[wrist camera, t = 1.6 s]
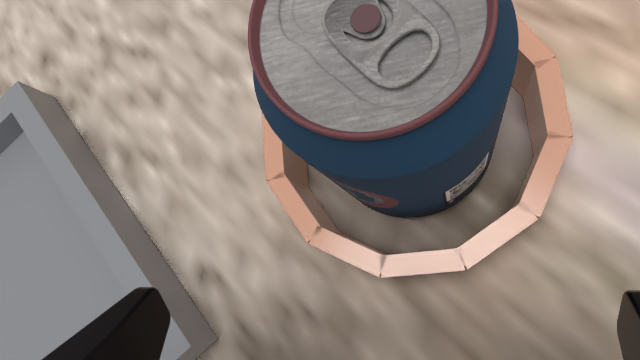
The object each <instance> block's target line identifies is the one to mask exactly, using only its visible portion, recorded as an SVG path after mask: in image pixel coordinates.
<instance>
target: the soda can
mask: <svg viewBox="0 0 640 360" xmlns="http://www.w3.org/2000/svg"><path fill="white" fill-rule="evenodd" d="M248 46H249V54H250V59H251V63H252V67H253V79H254V86H255V92H256V96H257V99H258V102H259V105H260V108H261V110H262V112H263V114H264V117H265V118H266V120H267V122H268V124H269V125H270V127H271V128H272V130H273V131H274V132H275V134H276V135H277V136H278V137H279V139H280V140H281V141H282V142H283V143H284V144H285V145H286V146H287V147H288V148H289V149H290V150H292V151H293V152H294V153H295V154H296V155H298V156H299V157H301V158H302V159H303V160H305V161H306V162H307V163H309V164H310V165H311V166H313V167H314V168H315V169H317V170H318V171H320V172H321V173H322V174H324V175H325V176H326V177H328V178H329V179H330V180H332V181H333V182H334V183H336V184H337V185H339V186H340V187H341V188H343V189H344V190H345V191H347V192H348V193H349V194H351V195H352V196H353V197H355V198H356V199H357V200H359V201H360V202H362V203H363V204H364V205H366V206H368V207H370V208H371V209H373V210H376V211H378V212H381V213H384V214H387V215H391V216H397V217H421V216H427V215H431V214H435V213H438V212H440V211H443V210H445V209H447V208H449V207H451V206H453V205H454V204H456V203H458V202H459V201H460V200H462V199H463V198H464V197H465V196H467V195H468V194H469V193H470V192H471V191H472V190H473V189H474V187H475V186H476V185H477V184H478V182H479V181H480V180H481V178H482V177H483V175H484V173H485V171H486V169H487V167H488V165H489V162H490V159H491V156H492V152H493V149H494V145H495V141H496V138H497V134H498V131H499V127H500V123H501V120H502V116H503V113H504V109H505V105H506V102H507V98H508V95H509V91H510V87H511V84H512V80H513V76H514V73H515V68H516V64H517V57H518V47H519V36H518V25H517V19H516V14H515V10H514V7H513V4H512V1H511V0H253V3H252V7H251V12H250V17H249V25H248Z"/></svg>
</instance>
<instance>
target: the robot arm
mask: <svg viewBox="0 0 640 360" xmlns="http://www.w3.org/2000/svg"><path fill="white" fill-rule="evenodd" d="M170 320H171V316H170V311H169V309H168V307H167V305H166V303H165V301H164V300H163V298H162V296H161V294H160V292H159V290H158V289H157V288H155V287H138V288H135V289H134V290H133V291H131V292H130V293H129V294H127V295H126V296H125V297H123V298H122V299H121V300H119V301H118V302H117V303H115V304H114V305H113V306H111V307H110V308H109V309H107V310H106V311H105V312H103V313H102V314H101V315H100V316H98V317H97V318H96V319H94V320H93V321H92V322H90V323H89V324H88V325H86V326H85V327H84V328H82V329H81V330H80V331H78V332H77V333H76V334H74V335H73V336H72V337H71V338H69V339H68V340H67V341H65V342H64V343H63V344H61V345H60V346H59V347H57V348H56V349H55V350H53V351H52V352H51V353H49V354H48V355H47V356H45V357H44V358H43V359H41V360H160V357H161V353H162V350H163V346H164V343H165V339H166V336H167V332H168V329H169V325H170ZM617 333H618V338H619V342H620V347H621V351H622V355H623V360H640V290H629V291H626V292H625V293H624V294H623V297H622V301H621V306H620V311H619V316H618V320H617Z"/></svg>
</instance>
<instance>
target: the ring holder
mask: <svg viewBox="0 0 640 360" xmlns="http://www.w3.org/2000/svg"><path fill="white" fill-rule="evenodd" d="M516 19H517V25H518V36H519V47H518V57H517V64H516V68H515V73H514V76H513V80H512V84H511V85H512V86H513V87H514V88H515V89H516V90H517V92H518V93H519V94H520V95H521V96H522V97H523V100H524V105H525V111H526V117H527V122H528V128H529V133H530V139H531V144H532V150H533V155H534V158H533V160H532V162H531V165H530V167H529V169H528V172H527V174H526V177H525V179H524V181H523V184H522V186H521V188H520V191H519V193H518V196H517V198H516V200H515V203H514V205H513V207H512V209H511V210H510V211H508V212H507V213H506V214H504V215H503V216H501V217H500V218H499V219H497V220H496V221H494V222H493V223H492V224H490V225H489V226H488V227H486V228H485V229H483V230H482V231H481V232H479V233H478V234H476V235H475V236H474V237H472V238H471V239H469V240H468V241H467V242H465V243H464V244H462V245H461V246H460V247H458V248H455V249H445V250H435V251H425V252H415V253H404V254H394V255H387V254H385V253H382V252H380V251H378V250H376V249H374V248H372V247H369V246H367V245H365V244H363V243H361V242H358V241H356V240H354V239H352V238H350V237H347V236H345V235H343V234H341V233H340V232H339V230H338V229H337V227H336V226H335V224H334V223H333V222H332V220H331V219H330V217H329V216H328V214H327V213H326V212H325V210H324V209H323V207H322V206H321V204H320V203H319V202H318V200H317V199H316V197H315V196H314V194H313V193H312V192H311V190H310V189H309V184H308V172H307V162H306V161H305V160H303V159H302V158H301V157H299V156H298V155H296V154H295V153H294V152H293V151H292V150H290V149H289V148H288V147H287V146H286V145H285V144H284V143H283V142H282V141H281V140H280V139H279V137H278V136H277V135H276V134H275V132H274V131H273V130H272V128H271V127H270V125H269V124H268V122H267V120H266V118H265V117H264V114H263V112H262V124H263V140H264V156H265V171H266V180H267V181H268V182H267V184H268V185H269V187H270V188H271V190H272V191H273V193H274V194H275V196H276V197H277V199H278V200H279V201H280V203H281V204H282V206H283V207H284V209H285V210H286V212H287V213H288V215H289V216H290V218H291V219H292V221H293V222H294V224H295V225H296V227H297V228H298V230H299V231H300V233H301V234H302V236H303V237H304V239H305V240H306V242H308V243H309V244H310V245H312V246H314V247H316V248H318V249H320V250H323V251H325V252H327V253H329V254H331V255H333V256H335V257H337V258H339V259H342V260H344V261H346V262H348V263H350V264H352V265H354V266H356V267H358V268H360V269H363V270H365V271H367V272H369V273H371V274H373V275H375V276H377V277H382V278H384V277H398V276H409V275H421V274H432V273H444V272H455V271H465V269H466V270H467V269H469V268H470V267H472V266H473V265H475V264H476V263H477V262H479V261H480V260H482V259H483V258H484V257H486V256H487V255H489V254H490V253H492V252H493V251H494V250H496V249H497V248H499V247H500V246H501V245H503V244H504V243H506V242H507V241H508V240H510V239H511V238H513V237H514V236H515V235H517V234H518V233H520V232H521V231H522V230H524V229H525V228H527V227H528V226H529V225H531V224H532V223H534V222H535V221H537V220H538V218H539V217H540V216H541V214H542V211H543V209H544V207H545V204H546V202H547V199H548V197H549V195H550V192H551V190H552V187H553V185H554V183H555V180H556V178H557V175H558V173H559V171H560V168H561V166H562V164H563V161H564V159H565V156H566V154H567V152H568V149H569V147H570V144H571V142H572V140H573V139H572V137H573V133H572V128H571V123H570V118H569V113H568V108H567V103H566V98H565V93H564V88H563V83H562V78H561V73H560V68H559V63H558V58H555V57H556V54H555V53H554V52H553V51H552V50H551V49H550V48H549V47H548V46H547V45H546V44H545V43H544V42H543V41H542V40H541V39H540V38H539V37H538V36H537V35H536V34H535V33H534V32H533V31H532V30H531V29H530V28H529V27H528V26H527V25H526V24H525V23H524V22H523V21H522V20H521V19H520V18H519V17H518V16H517V15H516Z"/></svg>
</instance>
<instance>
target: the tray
mask: <svg viewBox="0 0 640 360" xmlns="http://www.w3.org/2000/svg"><path fill="white" fill-rule="evenodd" d="M138 287H155V288H157V289H158V290H159V292H160V294H161V296H162V298H163V300H164V301H165V303H166V305H167V307H168V309H169V311H170V316H171V320H170V325H169V329H168V332H167V336H166V339H165V343H164V346H163V350H162V353H161V357H160V360H195V359H196V358H197V357H198V356H200V355H201V354H202V353H203V352H204V351H205V350H206V349H207V348H209V347H210V346H211V345H212V344H213V343H214V342H215V341H216V340H218V338H217V336H216V335H215V333H214V332H213V330H212V329H211V327H210V326H209V324H208V323H207V322H206V320H205V319H204V317H203V316H202V314H201V313H200V311H199V310H198V308H197V307H196V305H195V304H194V302H193V301H192V299H191V298H190V296H189V295H188V294H187V292H186V291H185V289H184V288H183V286H182V285H181V283H180V282H179V280H178V279H177V277H176V276H175V274H174V273H173V271H172V270H171V268H170V267H169V266H168V264H167V263H166V261H165V260H164V258H163V257H162V255H161V254H160V252H159V251H158V249H157V248H156V246H155V245H154V243H153V242H152V241H151V239H150V238H149V236H148V235H147V233H146V232H145V230H144V229H143V227H142V226H141V224H140V223H139V221H138V220H137V218H136V217H135V215H134V214H133V213H132V211H131V210H130V208H129V207H128V205H127V204H126V202H125V201H124V199H123V198H122V196H121V195H120V193H119V192H118V190H117V189H116V187H115V186H114V185H113V183H112V182H111V180H110V179H109V177H108V176H107V174H106V173H105V171H104V170H103V168H102V167H101V165H100V164H99V162H98V161H97V159H96V158H95V157H94V155H93V154H92V152H91V151H90V149H89V148H88V146H87V145H86V143H85V142H84V140H83V139H82V137H81V136H80V134H79V133H78V132H77V130H76V129H75V127H74V126H73V124H72V123H71V121H70V120H69V118H68V117H67V115H66V114H65V112H64V111H63V109H62V108H61V106H60V105H59V104H58V102H57V101H56V99H55V98H54V97H53V96H50V95H48V94H46V93H44V92H41V91H39V90H37V89H34V88H32V87H30V86H27V85H25V84H23V83H21V82H18V81H17V82H16V83H15V84H14V85H13V86H12V87H11V88H10V89H9V90H8V91H7V92H6V93H5V94H4V95H3V96H2V97H1V98H0V360H41V359H43V358H44V357H45V356H47V355H48V354H49V353H51V352H52V351H53V350H55V349H56V348H57V347H59V346H60V345H61V344H63V343H64V342H65V341H67V340H68V339H69V338H71V337H72V336H73V335H74V334H76V333H77V332H78V331H80V330H81V329H82V328H84V327H85V326H86V325H88V324H89V323H90V322H92V321H93V320H94V319H96V318H97V317H98V316H100V315H101V314H102V313H103V312H105V311H106V310H107V309H109V308H110V307H111V306H113V305H114V304H115V303H117V302H118V301H119V300H121V299H122V298H123V297H125V296H126V295H127V294H129V293H130V292H131V291H133V290H134V289H135V288H138Z"/></svg>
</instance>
